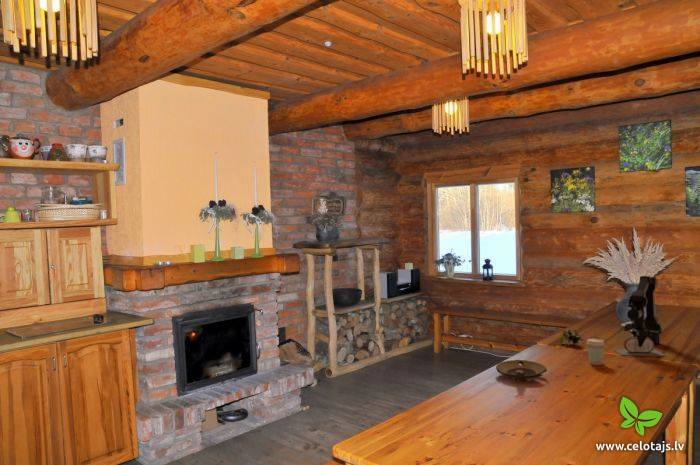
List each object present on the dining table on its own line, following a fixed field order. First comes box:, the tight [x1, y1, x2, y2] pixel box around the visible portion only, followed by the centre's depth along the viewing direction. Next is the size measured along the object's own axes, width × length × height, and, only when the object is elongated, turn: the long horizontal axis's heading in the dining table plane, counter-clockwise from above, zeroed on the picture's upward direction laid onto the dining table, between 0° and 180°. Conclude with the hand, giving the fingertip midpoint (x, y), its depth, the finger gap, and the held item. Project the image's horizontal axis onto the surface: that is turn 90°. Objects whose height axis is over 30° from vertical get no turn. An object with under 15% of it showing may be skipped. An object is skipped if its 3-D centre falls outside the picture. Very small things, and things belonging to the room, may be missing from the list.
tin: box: [622, 335, 655, 353], centre depth 282 cm, size 15×3×8 cm, turn 82°
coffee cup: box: [586, 338, 606, 366], centre depth 264 cm, size 8×8×12 cm
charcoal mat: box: [612, 348, 666, 357], centre depth 283 cm, size 22×12×1 cm, turn 82°
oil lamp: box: [495, 359, 548, 383], centre depth 242 cm, size 22×30×8 cm
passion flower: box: [557, 328, 584, 346], centre depth 304 cm, size 11×11×12 cm
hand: (638, 345), depth 283 cm, fingers open, 4 cm apart
